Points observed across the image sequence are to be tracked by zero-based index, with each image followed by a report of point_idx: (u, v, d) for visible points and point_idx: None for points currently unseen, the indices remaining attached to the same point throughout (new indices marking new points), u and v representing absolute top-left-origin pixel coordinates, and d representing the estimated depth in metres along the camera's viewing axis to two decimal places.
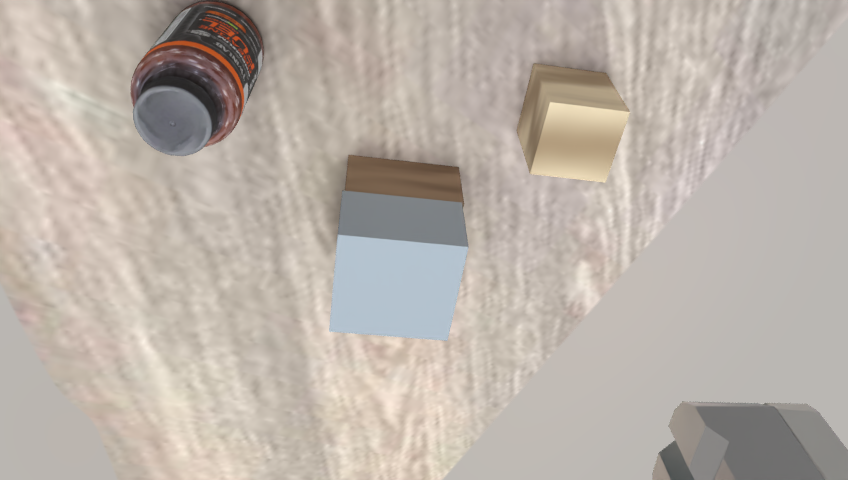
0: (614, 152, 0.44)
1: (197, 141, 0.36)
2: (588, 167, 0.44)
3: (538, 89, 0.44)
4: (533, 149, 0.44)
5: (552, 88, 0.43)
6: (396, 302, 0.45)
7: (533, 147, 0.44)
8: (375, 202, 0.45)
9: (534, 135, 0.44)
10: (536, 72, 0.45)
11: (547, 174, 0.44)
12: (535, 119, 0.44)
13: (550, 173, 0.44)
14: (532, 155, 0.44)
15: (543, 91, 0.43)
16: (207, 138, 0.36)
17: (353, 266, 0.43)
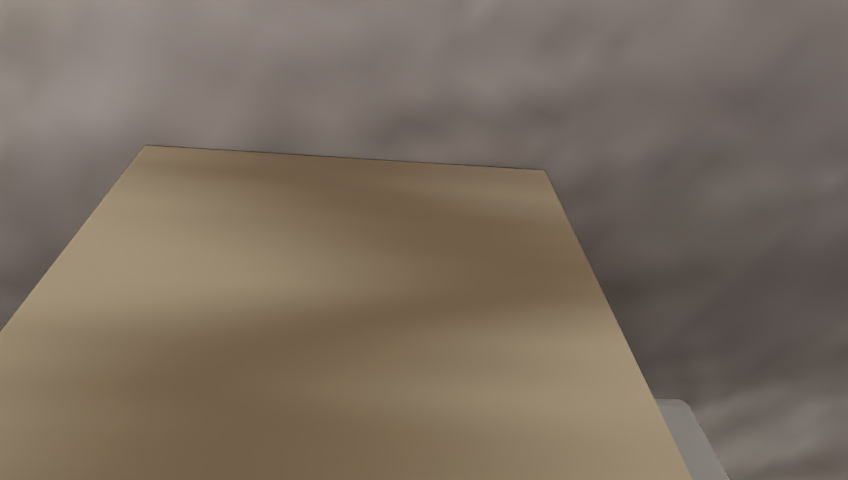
0: None
1: None
2: None
3: (539, 292, 0.06)
4: None
5: None
6: None
7: None
8: None
9: (253, 433, 0.05)
10: (558, 218, 0.08)
11: None
12: (368, 365, 0.05)
13: None
14: None
15: (622, 384, 0.05)
16: None
17: None
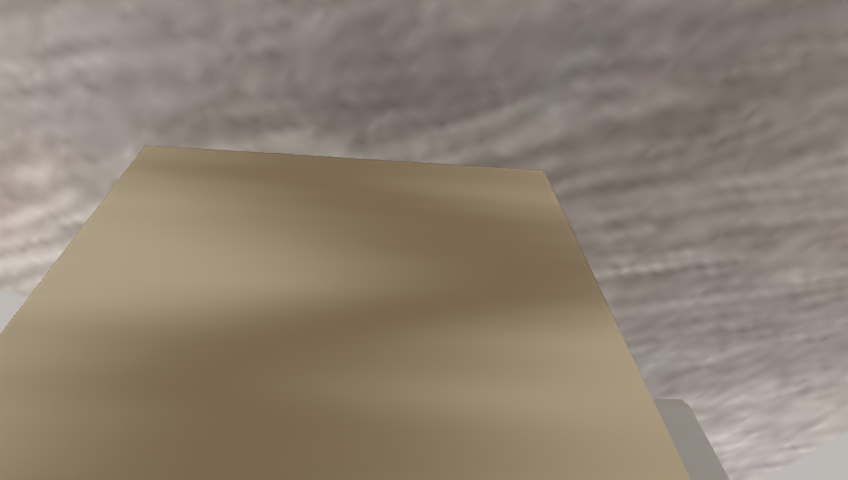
0: None
1: None
2: None
3: (538, 292, 0.07)
4: None
5: None
6: None
7: None
8: None
9: (254, 431, 0.05)
10: (557, 217, 0.08)
11: None
12: (368, 364, 0.05)
13: None
14: None
15: (620, 382, 0.05)
16: None
17: None
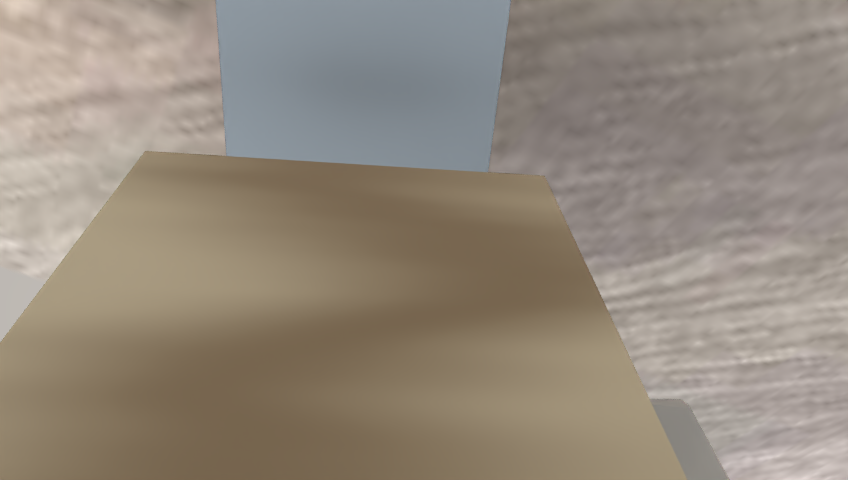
0: None
1: None
2: None
3: (539, 299, 0.07)
4: None
5: None
6: (329, 59, 0.20)
7: None
8: None
9: (254, 442, 0.05)
10: (557, 224, 0.08)
11: None
12: (369, 373, 0.05)
13: None
14: None
15: (621, 392, 0.05)
16: None
17: None
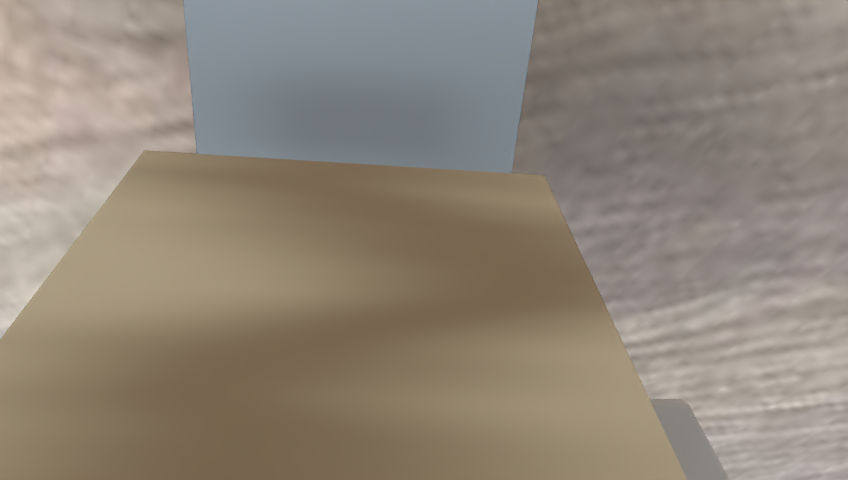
0: None
1: None
2: None
3: (538, 299, 0.06)
4: None
5: None
6: (320, 117, 0.17)
7: None
8: None
9: (252, 442, 0.05)
10: (557, 223, 0.08)
11: None
12: (368, 373, 0.05)
13: None
14: None
15: (620, 391, 0.05)
16: None
17: None
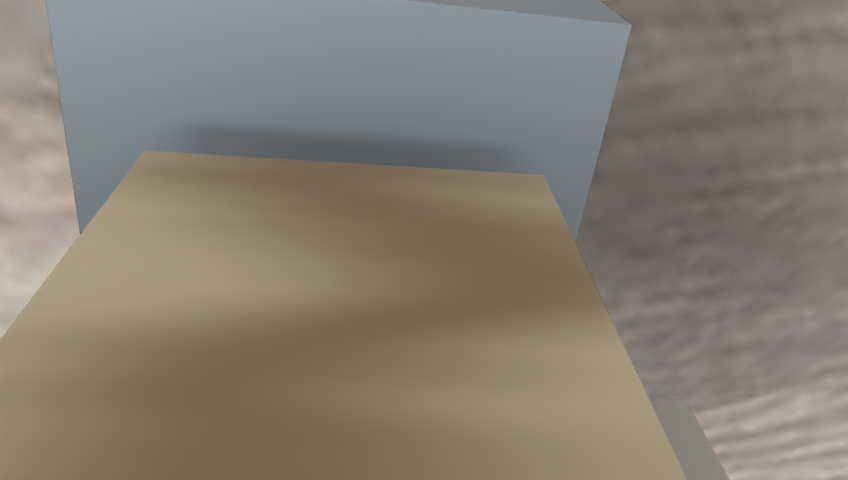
0: None
1: None
2: None
3: (538, 298, 0.07)
4: None
5: None
6: None
7: None
8: None
9: (252, 441, 0.05)
10: (556, 223, 0.08)
11: None
12: (368, 372, 0.05)
13: None
14: None
15: (620, 390, 0.05)
16: None
17: (461, 88, 0.10)
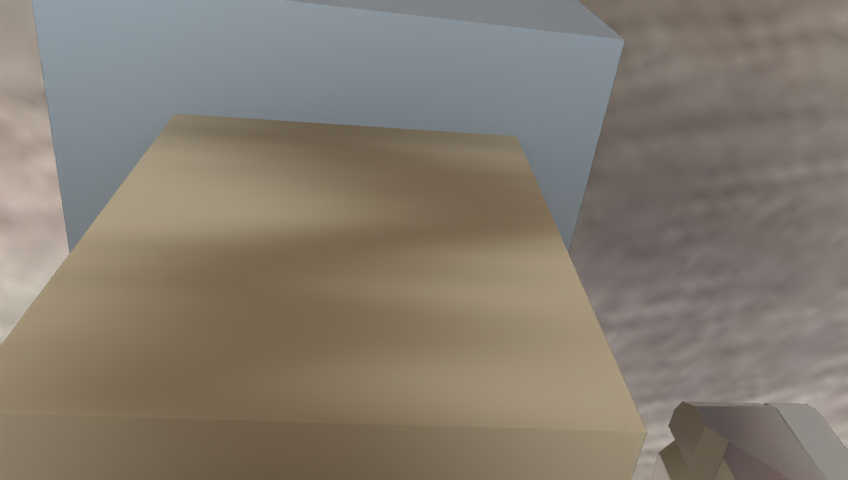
0: None
1: None
2: None
3: (503, 225, 0.08)
4: (182, 353, 0.06)
5: None
6: None
7: (194, 344, 0.06)
8: None
9: (276, 312, 0.06)
10: (524, 172, 0.09)
11: None
12: (364, 271, 0.07)
13: None
14: (128, 362, 0.05)
15: (563, 287, 0.07)
16: None
17: (452, 101, 0.10)
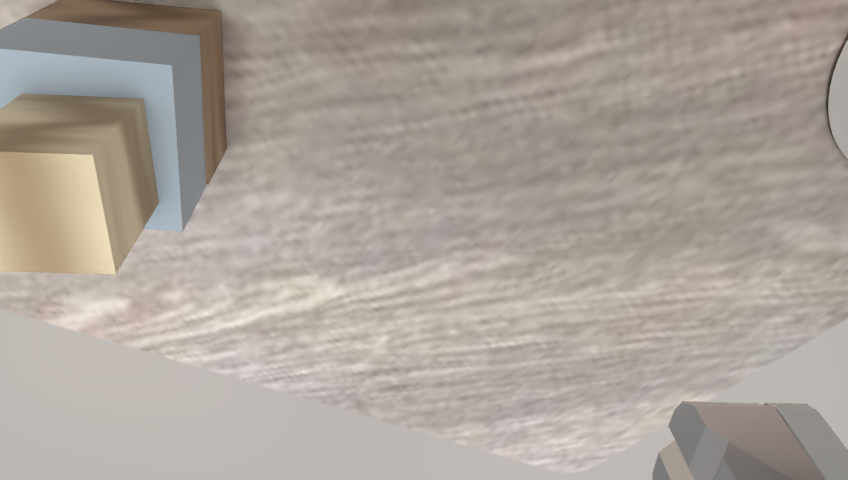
0: (40, 270, 0.27)
1: None
2: None
3: (105, 121, 0.27)
4: None
5: (115, 146, 0.27)
6: None
7: None
8: (196, 86, 0.34)
9: (22, 137, 0.25)
10: (131, 108, 0.29)
11: None
12: (52, 130, 0.26)
13: None
14: None
15: (105, 134, 0.26)
16: None
17: (118, 86, 0.29)
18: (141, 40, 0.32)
